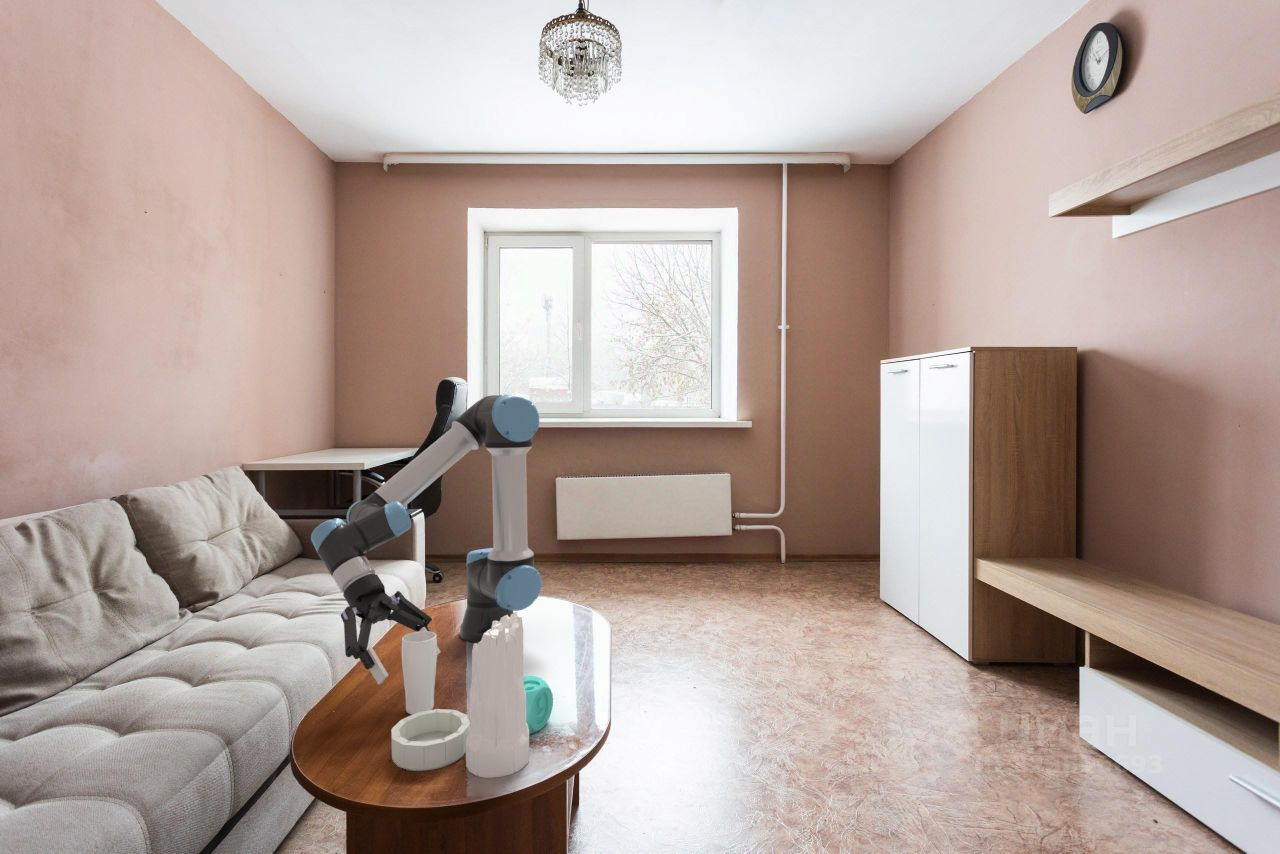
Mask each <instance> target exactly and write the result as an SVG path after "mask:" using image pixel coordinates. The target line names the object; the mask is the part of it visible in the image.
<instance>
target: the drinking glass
mask: <svg viewBox="0 0 1280 854" xmlns="http://www.w3.org/2000/svg"><path fill="white" fill-rule="evenodd" d="M437 637H438V635H437V633H436V632H434V631H418V632H416V631H413V632H409V633H406V634H405V635H404V636H402V638H401V665H402V675H403V676H402V677H403V686H404V694H405V711H406V713H407V714H409V715H410V716H411V715H413V714H415V713H418V712H423V711H429V710H434V707H435V687H436V685H435V684H436V673H437V661H438V660H437V659H438V655H437V647H438V638H437Z"/></svg>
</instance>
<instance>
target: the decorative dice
mask: <svg viewBox="0 0 1280 854" xmlns="http://www.w3.org/2000/svg"><path fill="white" fill-rule="evenodd" d="M523 682H524V689H525V693H526V723H527V725H528V729H529V735H531V734H534V733H537V732H539V731H540V730H542V729H543V728H545V726H546V725H547V723H548V721H549V720H550V717H551V715H552V711H553V707H554V705H553V704H554V696H553V692H552V690H551V688H550V686H549V684H548V683H547V682H546V681H545V680H544V679H543V678H542V677H539V676H537V675H523Z"/></svg>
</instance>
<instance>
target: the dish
mask: <svg viewBox="0 0 1280 854" xmlns="http://www.w3.org/2000/svg"><path fill="white" fill-rule="evenodd" d="M469 731H470V719H469V716H468V715H467V714H465V713H463V712H461V711H459V710H456V709H443V708H436V709H434V708H433V709H432V710H429V711H423V712H418V713H415V714H413V715H411V714H410V715H408V716H406V717H404V718H402V719H400V720H399V721H397V723H396V724H395V725H394V726H393V727H392V728H391V730H390V732H391V734H390V735H391V737H390V738H391V739H390V740H391V741H390V742H391V744H390V745H391V747H390V748H391V760H393V761H392V763H393V762H394V763H395V764H396V765H397V766H396V765H395V764H394V763H393V764H394V765H395V766H396V767H398V768H399V769H402V768H404V769H403V770H405V769H406V771H410V772H411V771H412V772H425V771H426V772H427V771H434V770H437V769H441V768H443V767H447V766H449V765H452V764H454V763H456V762H457V761H459V760H461V759H462V758H464V756H466V738H467V735H468V732H469Z"/></svg>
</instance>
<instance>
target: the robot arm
mask: <svg viewBox="0 0 1280 854" xmlns="http://www.w3.org/2000/svg"><path fill="white" fill-rule="evenodd" d="M539 414H540V413H539V411H538V409H537V407H536V406H535V404H534V403H533V402H532V401H531V400H530V399H529V398H528V397H525V396H523V395H521V394H516V393H514V394H512V393H507V394H499V395H497V394H495V395H487V396H485V397H483V398H481V399H479V400H478V401H476V402H475V403H474V404H473V405H471V406H470V407H469V408H468V409H466V410H465V411H464V412H463V413H462V414H460V416H458V417H457V418H456V419H454V421H452V423H451V428H450V429H449V430H448V431H446V432H445V433H444V434H443V435H441V436H440V437H439V438H437V440H436V441H434V442H433V443H432V444H430V445H428V447H427V448H426V449H424V450H423V451H422V452H420V453H419V454H418V455H417V456H416V457H415V458H414V459H412V460H411V461H410V462H409V463H408V464H406V465H405V466H404V467H402V469H400V470H399V471H398V472H397V473H395V474H394V475H393V476H392V477H391V478H389V479H388V480H387V481H385V483H383V484H382V485H381V486H380V487H378V488H377V489H376V490H375V491H373V492H372V493H371V494H370V495H368V496H367V497H366V498H365V499H363V500H360V501H359V500H358V501H356V502H354V503H352V504H351V506H349V508H348V509H347V512H346V521H347V523H346V521H344V520H343V519H341V518H337V517H335V518H332V519H328V520H326V521H323V522H322V523H320V524H319V525H318V526H316V527H315V528H314V529H313V531H312V532H311V534H310V541H311V543H312V545H313V547H314V549H315V551H316V553H317V555H318V556H319V558H320V559H321V561H322V563H323V565H324V566H325V568H326V569H327V570H328V573H329V574H330V575H331V577H332V579H333V580H334V581H333V582H335V583H336V586H337V587H338V589H339V591H340V592H341V593H343V594H342V596H343V598H344V599H345V602H346V603H347V604H348V606H346V608H345V609H344V610H343V611H342V612H341V614H340V618H341V620H342V622H343V628H344V629H343V630H344V649H345V650H344V653H345V656H346V657H347V658H350V657H353V659H355V660H358V659H359V660H360V662H361V664H362V665H363V667H364V668H365V669H366V670H369V671H370V673H371V675H372V676H373V678H374V680H375V681H376V683H377V685H381V684H383V683H384V681H385V680H386V679H387V678H388V677H389V673H388V672H387V670H386V668H385V667H384V665H383V663H382V662H381V660H380V659H379V657H378V655H377V654H376V651H375V650H374V647H370V648H368V645H369V639H370V635H371V630H372V625H375V624H377V623H378V622H383V621H386V620H387V621H393V622H396V623H398V624H400V625H402V626H404V627H406V628H408V629H410V630H413V632H418V631H430V629H429V627H428V626H429V624H430V623H431V622H432V620H433V618H432V617H431V616H430V615H428V614H427V613H425V612H424V611H423V610H422V609H420V608H419V607H418V606H416V605H415V604H414V603H412V602H411V601H410V600H408V599H407V598H406V597H405V596H404V595H403V594H402V592H401V591H399V590H397V591H396V592H395V593H394V594H392V595H390V596H389V595H388V594H387V592H386V590H385V589H386V588H385V585H384V583H383V581H382V580H381V579H380V577H379V575H378V574H376V571H375V569H374V568H373V566H372V564H371V562H370V561H369V560H368V558H367V556H366V554H365V553H368V552H370V551H372V550H374V549H375V548H378V547H379V546H382V545H383V544H385V543H387V542H389V541H392V540H393V539H396V538H399V537H401V535H403V534H404V533H407V531H409V530H411V528H412V521H411V518H410V516H409V515H410V514H409V513H408V512H407V509H406V508H405V507H406V506H407V505H408V504H410V502H412V501H413V500H414V499H415V498H416V497H417V496H419V495H420V494H421V493H422V492H424V490H426V489H427V488H429V486H431V485H432V484H433V483H434V482H435V481H436V480H438V478H440V477H441V476H442V475H444V474H445V473H446V472H447V471H449V469H450V468H451V467H453V466H454V465H455V464H456V463H458V461H460V460H461V459H462V458H463V457H465V455H467V454H468V453H469V452H471V450H472V451H477V450H478V449H480V448H481V447H482V446H483V445H485V449H486V450H487V451H488V452H489V454H490V455H491V483H492V485H491V486H492V528H493V529H492V531H493V533H492V535H493V547H488V548H482V549H475V550H471V551H469V552H468V553H467V555H466V563H465V566H466V567H465V568H466V571H465V572H466V608H465V611H464V616H463V618H462V623H461V625H460V627H459V629H460V630H459V632H460V634H459V635H460V638H461V639H462V640H465V641H467V642H471V643H479V642H480V641H481V640H482V637H483V634H484V633H486V631H488V630H489V629H491V628H492V623H493V621H498V622H499V621H500V619H501V618H502V617H504V616H506V615H508V617H510V616H511V614H513V613H515V612H519V611H523V610H526V609H527V608H529V607H530V606H531V605H532V604H534V603H535V601H536V600H537V599H538V598H539V596H540V593H541V592H542V585H543V579H542V576H541V573H539V571H538V569H536V567H535V554H534V551H532V549H531V548H529V546H528V545H529V543H528V542H529V541H528V538H529V537H528V493H527V492H528V487H527V485H528V482H527V481H528V480H527V478H528V477H527V454H528V452H529V451H530V450H532V448H533V437H534V435H535V434H536V433H537V431H538V430H539V426H540V415H539ZM357 617H358V618H360V619H361V620H360V625H359V628H360V629H359V634H358V631H357V629H358V628H357ZM441 652H442V651H441V649H440V648H439V646H437V656H439V654H440V653H441Z"/></svg>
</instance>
